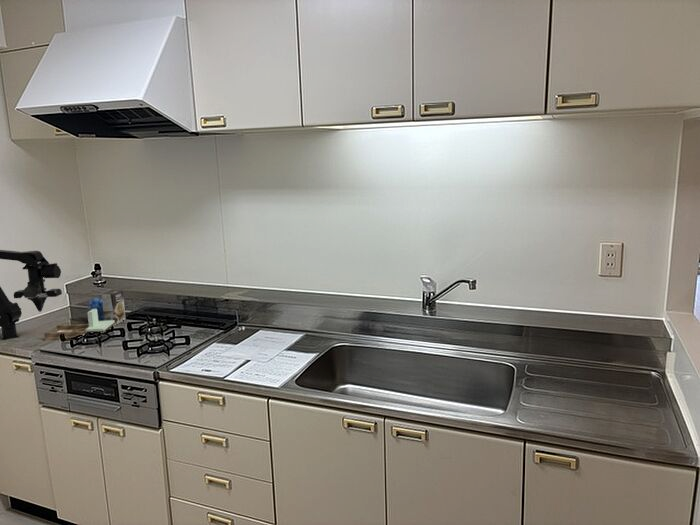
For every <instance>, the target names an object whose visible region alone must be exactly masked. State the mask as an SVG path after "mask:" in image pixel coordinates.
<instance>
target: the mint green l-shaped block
mask: <svg viewBox="0 0 700 525" xmlns="http://www.w3.org/2000/svg"><path fill="white" fill-rule="evenodd" d="M87 320H88V324H89V327H88V328H87V329H85V331H104V330H105V329H107V328H108V327H109V326H110V325H112V324H113V323H114V322H115V320H109V321H104V320H98V313H97V309H92V310H89V311H87Z"/></svg>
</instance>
